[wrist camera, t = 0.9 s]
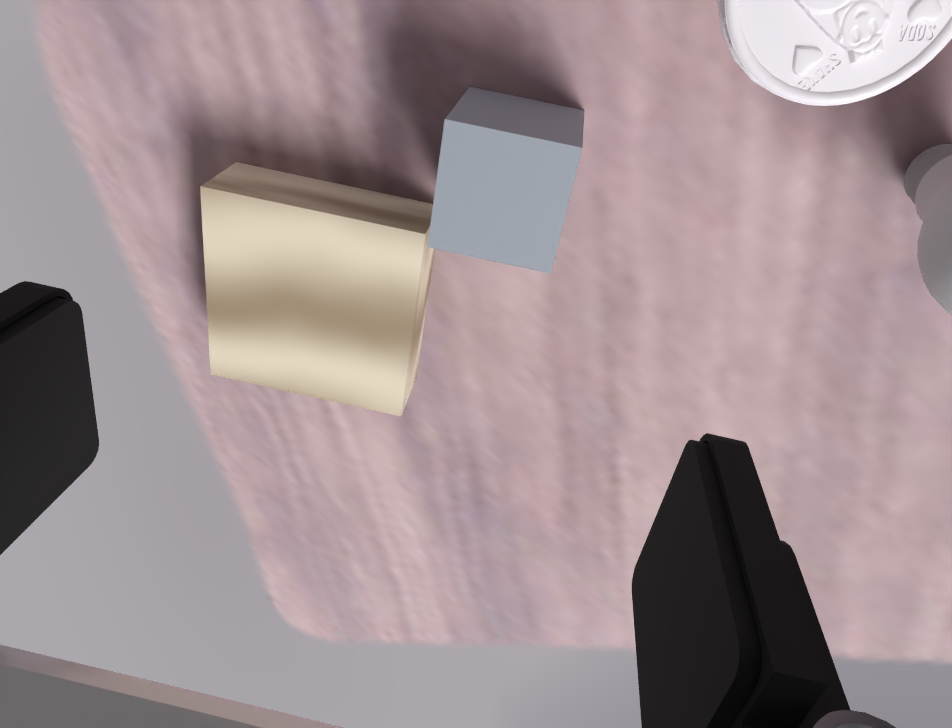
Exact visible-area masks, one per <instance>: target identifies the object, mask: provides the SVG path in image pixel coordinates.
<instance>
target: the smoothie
mask: <svg viewBox="0 0 952 728" xmlns="http://www.w3.org/2000/svg"><path fill="white" fill-rule="evenodd" d="M718 8H719V15H720V23H721V31H722V34H723V36H724V38H725V41H726V43H727V45H728V48H729V50H730V52H731V55H732V57H733V59H734V60H735V61H736V63H737V64H738V65H739V66H740V67H741V68H742V70H743V71H744V72H745V73H746V74H747V75H748V77H749V78H750V79H751V80H752V81H754V82H755V83H757V84H759V85H760V86H762V87H763V88H765V89H767V90H768V91H770V92H772V93H773V94H775V95H778V96H780V97H782V98H785V99H788V100H790V101H793V102H797V103H802V104H807V105H815V106H831V105H842V104H848V103H853V102H857V101H861V100H864V99H867V98H870V97H873V96H876V95H878V94H880V93H882V92H885V91H887V90H889V89H891V88H893V87H894V86H896V85H898V84H900V83H901V82H903V81H905V80H906V79H908V78H909V77H911V76H912V75H913V74H915V73H916V72H918V71H919V70H920V69H922V68H923V67H924V66H925V65H926V64H927V63H928V62H930V61H931V60H932V59H933V58H934V57H935V56H936V55H937V54H938V53H939V52H940V51H941V50H942V49H943V48H944V47H945V46H946V44H947V43H948V42H949V41H950V40H951V39H952V0H718Z"/></svg>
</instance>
